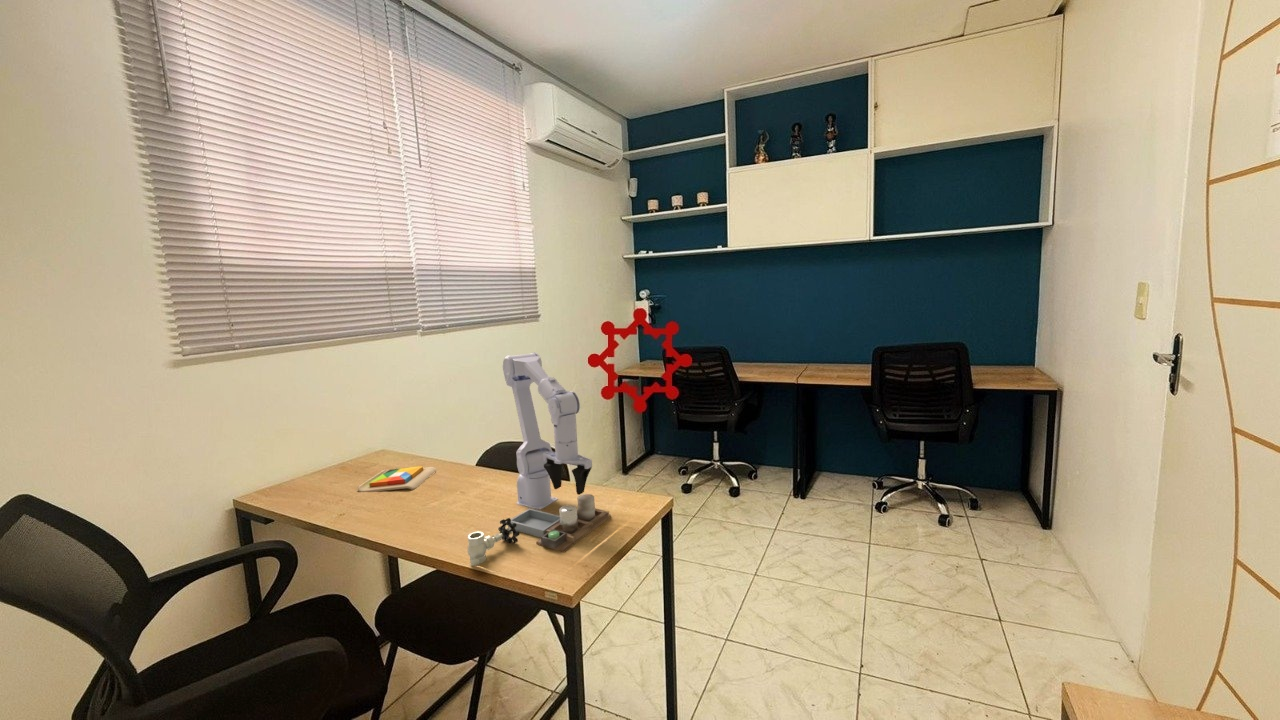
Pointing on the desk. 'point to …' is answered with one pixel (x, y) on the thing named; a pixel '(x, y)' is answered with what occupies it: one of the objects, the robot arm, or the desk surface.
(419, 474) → the wooden puzzle
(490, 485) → the desk surface
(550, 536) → the button
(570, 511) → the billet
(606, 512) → the brown compartment tray
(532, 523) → the tote
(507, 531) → the valve
